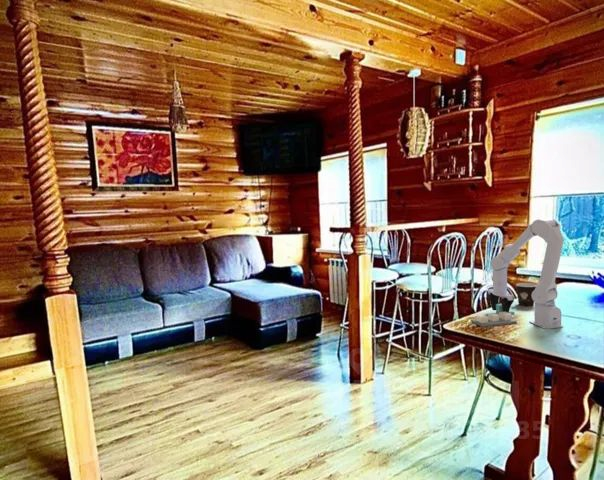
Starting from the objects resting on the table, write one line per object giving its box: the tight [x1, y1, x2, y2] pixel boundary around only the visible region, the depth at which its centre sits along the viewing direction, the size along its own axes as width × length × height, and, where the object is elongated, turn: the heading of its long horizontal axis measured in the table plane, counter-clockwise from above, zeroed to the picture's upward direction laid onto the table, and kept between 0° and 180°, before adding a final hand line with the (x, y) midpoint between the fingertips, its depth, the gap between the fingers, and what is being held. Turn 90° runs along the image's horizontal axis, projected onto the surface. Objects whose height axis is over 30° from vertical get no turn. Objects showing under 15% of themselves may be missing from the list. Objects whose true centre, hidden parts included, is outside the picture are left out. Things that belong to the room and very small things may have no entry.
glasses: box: [485, 303, 515, 316], centre depth 180 cm, size 13×4×5 cm, turn 100°
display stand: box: [470, 312, 518, 328], centre depth 170 cm, size 16×8×4 cm, turn 100°
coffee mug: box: [515, 282, 537, 308], centre depth 192 cm, size 12×9×10 cm
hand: (500, 312), depth 180 cm, fingers open, 7 cm apart
